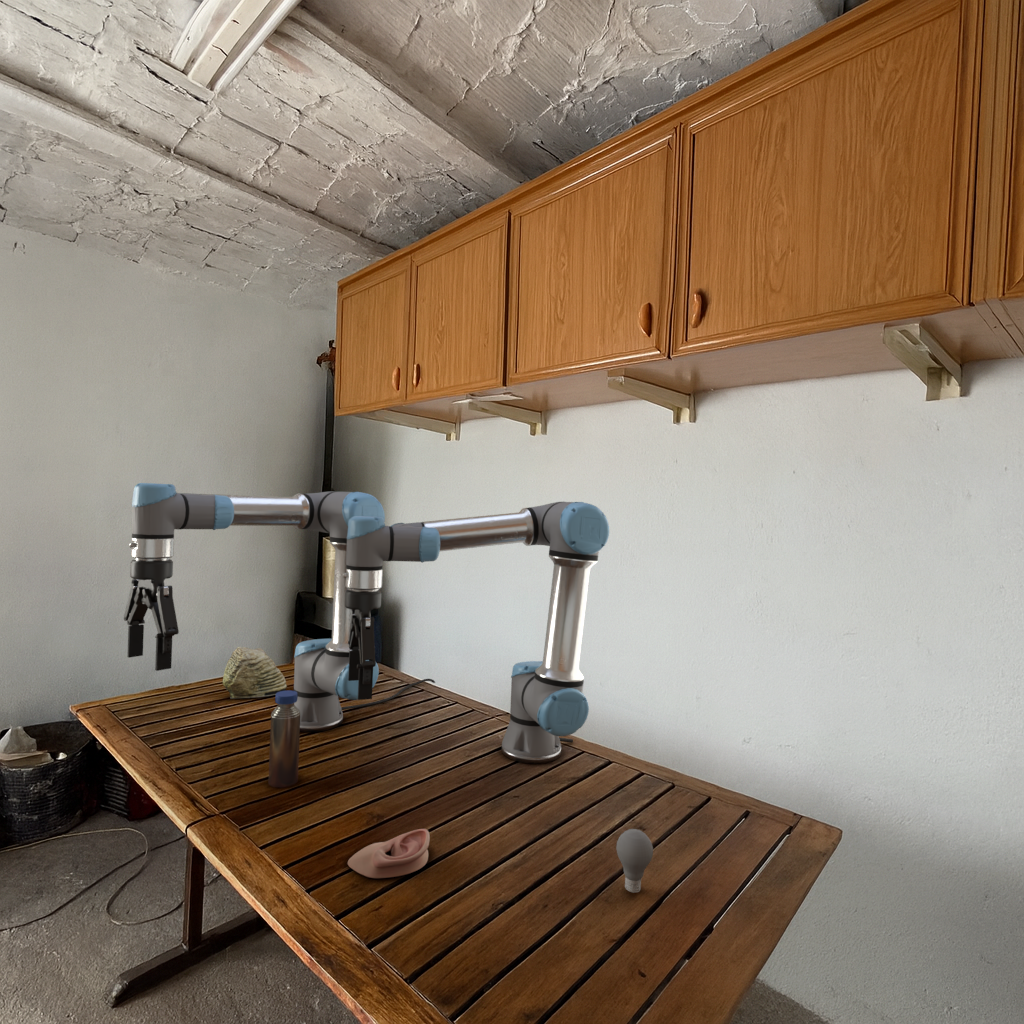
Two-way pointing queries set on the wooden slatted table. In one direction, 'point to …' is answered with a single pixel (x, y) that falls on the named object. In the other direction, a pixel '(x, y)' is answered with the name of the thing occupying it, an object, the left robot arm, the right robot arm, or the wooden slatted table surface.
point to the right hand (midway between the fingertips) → (359, 689)
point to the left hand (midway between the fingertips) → (148, 662)
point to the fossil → (252, 674)
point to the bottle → (284, 745)
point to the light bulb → (634, 857)
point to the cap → (286, 697)
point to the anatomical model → (393, 856)
